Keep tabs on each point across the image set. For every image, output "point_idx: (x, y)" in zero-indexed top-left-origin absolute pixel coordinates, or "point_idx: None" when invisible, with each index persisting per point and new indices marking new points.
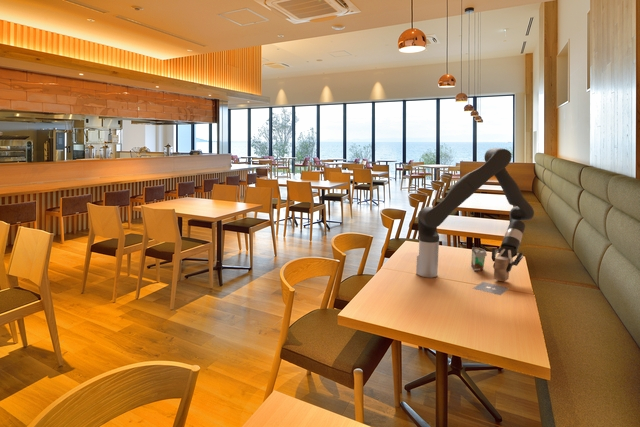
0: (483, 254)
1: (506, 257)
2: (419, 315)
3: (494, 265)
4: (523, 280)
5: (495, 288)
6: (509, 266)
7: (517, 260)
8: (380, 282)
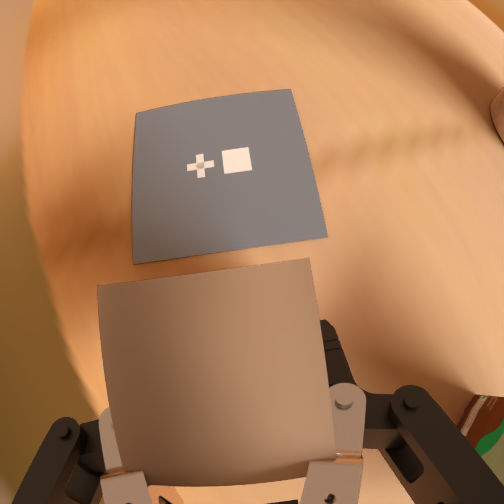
0: None
1: (186, 479)
2: None
3: None
4: None
5: (196, 178)
6: None
7: (38, 453)
8: (475, 13)
